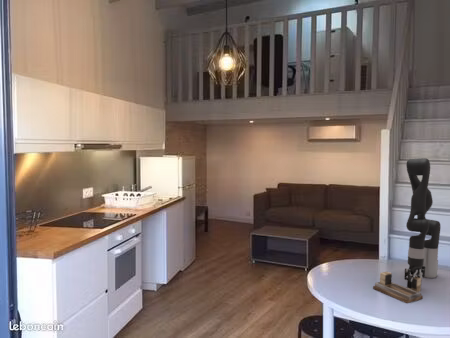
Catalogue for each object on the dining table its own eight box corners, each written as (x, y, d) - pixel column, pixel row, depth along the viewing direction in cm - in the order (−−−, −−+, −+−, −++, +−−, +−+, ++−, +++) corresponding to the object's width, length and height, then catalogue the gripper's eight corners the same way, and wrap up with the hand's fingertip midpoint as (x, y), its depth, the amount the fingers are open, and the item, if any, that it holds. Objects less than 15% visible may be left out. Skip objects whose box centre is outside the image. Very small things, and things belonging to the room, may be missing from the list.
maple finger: (420, 291, 198) (421, 278, 197) (416, 292, 196) (417, 279, 196) (411, 287, 202) (412, 274, 202) (407, 288, 201) (408, 275, 200)
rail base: (388, 285, 205) (389, 269, 205) (422, 298, 188) (423, 282, 187) (373, 288, 200) (373, 273, 199) (406, 303, 182) (407, 286, 182)
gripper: (418, 252, 205) (416, 282, 206) (400, 255, 198) (398, 286, 199) (431, 256, 198) (429, 286, 199) (413, 259, 192) (411, 291, 193)
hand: (414, 286), depth 199 cm, fingers open, 7 cm apart
